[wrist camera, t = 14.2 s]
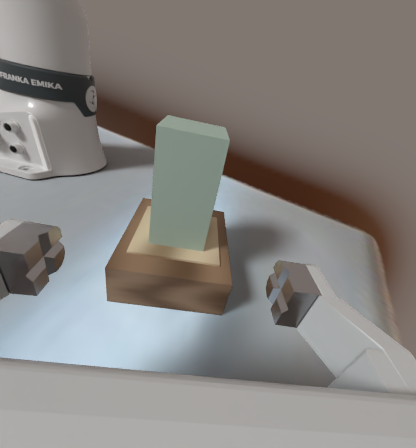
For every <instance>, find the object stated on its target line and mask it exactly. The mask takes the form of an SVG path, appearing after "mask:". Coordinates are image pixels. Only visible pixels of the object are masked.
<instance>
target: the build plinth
mask: <svg viewBox="0 0 416 448" xmlns="http://www.w3.org/2000/svg"><path fill="white" fill-rule="evenodd" d="M150 214H151V199H145V198H143V200H142V201H141V203H140V205H139V207H138V209H137V211H136V212H135V214H134V216H133V218H132V220H131V222H130V223H129V225H128V227H127V229H126V231H125V232H124V234H123V236H122V238H121V240H120V242H119V243H118V245H117V247H116V249H115V251H114V253H113V254H112V256H111V258H110V260H109V262H108V264H107V265H106V267H105V274H106V289H107V301H111V302H120V303H128V304H136V305H144V306H152V307H160V308H168V309H176V310H184V311H192V312H200V313H208V314H216V315H222V313H223V310H224V307H225V304H226V302H227V299H228V296H229V294H230V291H231V288H232V278H231V269H230V261H229V252H228V244H227V236H226V227H225V219H224V212H220V211H215V210H213V213H212V217H211V221H210V225H209V230H208V234H207V238H206V242H205V246H204V250H203V251H196V250H190V249H183V248H177V247H170V246H164V245H157V244H151V243H149V228H150Z"/></svg>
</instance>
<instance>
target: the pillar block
mask: <svg viewBox="0 0 416 448" xmlns="http://www.w3.org/2000/svg"><path fill="white" fill-rule="evenodd" d="M155 142H156V143H155V156H154V170H153V185H152V199H151V214H150V228H149V243H151V244H157V245H164V246H170V247H177V248H183V249H190V250H196V251H203V250H204V246H205V242H206V238H207V234H208V230H209V225H210V221H211V217H212V213H213V209H214V205H215V201H216V196H217V192H218V188H219V184H220V180H221V176H222V171H223V167H224V163H225V159H226V155H227V151H228V146H229V142H230V140H229V137H228V134H227V131H226V128H225V127H220V126H216V125H211V124H206V123H201V122H197V121H192V120H187V119H183V118H178V117H174V116H169V115H168V116H167V117H166V118H165V119H163V120H162V121H161V122H160V123H159V124H157V128H156V141H155Z"/></svg>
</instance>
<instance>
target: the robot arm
mask: <svg viewBox="0 0 416 448" xmlns="http://www.w3.org/2000/svg"><path fill="white" fill-rule="evenodd" d="M90 65H91V64H90V50H89V36H88V21H87V17H86V14H85V11H84V9H83V7H82V5H81V3H80V2H79V0H0V172H4V173H8V174H11V175H15V176H18V177H22V178H26V179H42V178H47V177H52V176H63V175H78V174H85V173H90V172H93V171H97V170H99V169H101V168H103V167H104V166H105V165H106V163H107V161H106V158H105V156H104V153H103V150H102V146H101V142H100V138H99V134H98V129H97V123H96V117H95V114H96V107H97V98H96V90H95V81H94V77H93V76H92V75H91V66H90ZM61 237H62V234H61V230H60V228H58V227H56V226H51V225H45V224H39V223H33V222H26V221H21V220H15V219H10V220H6V221H4V222H3V223H1V224H0V300H1V299H2V298H4V297H6V296H8V295H9V293H12V294H22V295H33V296H37V295H38V294H39V293H40V292H41V290H42V289H43V288H44V287H45V285H46V284H47V283H48V282H49V276H48V275H50V274H52V273H54V272H56V271H57V270H58V269H59V268H60V266H61V265H62V262H63V260H64V255H65V250H64V246H63V245H62V244H61V243H60V242H59V239H60V238H61ZM274 271H275V273H273V274H272V275H270V276H269V278H268V281H267V286H266V293H267V298H268V300H269V301H270V302H271V303H272V304H273V305H272V307H271V312H272V316H273V319H274V323H275V325H281V326H288V327H295V328H297V330H298V331H299V333H300V334H301V335H302V336H303V338H304V339H305V340H306V341H307V343H308V344H309V345H310V346H311V347H312V349H313V350H314V351H315V352H316V354H317V355H318V356H319V357H320V359H321V360H322V361H323V362H324V363H325V365H326V366H327V367H328V368H329V370H330V371H331V372H332V373H333V375H334V376H335V377H336V378H335V379H334V380H333V381H332V382H331V383H330V384H329V385H328V387H327V388H325V387H315V386H304V385H293V384H282V383H271V382H260V381H250V380H239V379H228V378H217V377H206V376H196V375H185V374H174V373H163V372H152V371H141V370H130V369H119V368H108V367H97V366H86V365H76V364H65V363H54V362H43V361H32V360H21V359H10V358H0V448H416V359H415V358H414V357H413V356H412V354H411V353H410V352H409V351H408V350H406V349H405V348H404V347H403V346H401V345H400V344H399V343H397V342H396V341H395V340H394V339H392V338H391V337H390V336H388V335H387V334H386V333H385V332H383V331H382V330H381V329H379V328H378V327H377V326H375V325H374V324H373V323H372V322H370V321H369V320H368V319H366V318H365V317H364V316H363V315H361V314H360V313H359V312H357V311H356V310H355V309H354V308H352V307H351V306H350V305H348V304H347V303H346V302H345V301H343V300H342V299H340V298H337V297H336V296H335V294H334V292H333V291H332V289H331V287H330V286H329V284H328V282H327V281H326V279H325V278H324V276H323V274H322V273H321V271H320V269H319V268H318V267H317V266H316V265H310V264H300V263H293V262H286V261H279V260H278V261H277V262H276V264H275V266H274Z"/></svg>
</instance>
